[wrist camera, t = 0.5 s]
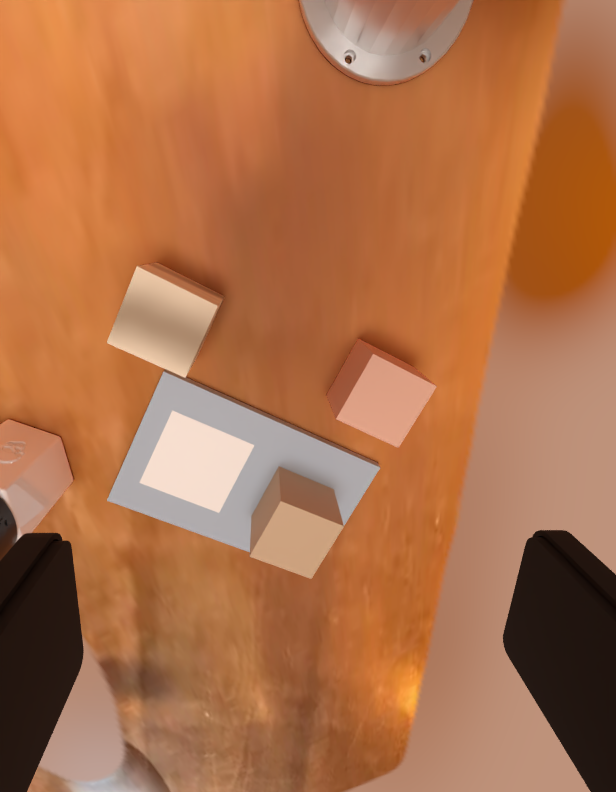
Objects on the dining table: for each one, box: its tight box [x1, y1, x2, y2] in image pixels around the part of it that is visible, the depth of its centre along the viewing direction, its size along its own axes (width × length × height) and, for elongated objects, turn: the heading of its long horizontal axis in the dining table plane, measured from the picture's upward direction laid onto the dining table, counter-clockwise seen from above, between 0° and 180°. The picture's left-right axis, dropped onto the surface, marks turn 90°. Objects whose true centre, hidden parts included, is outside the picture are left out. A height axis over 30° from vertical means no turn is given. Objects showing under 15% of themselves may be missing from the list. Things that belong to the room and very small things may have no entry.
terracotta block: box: [327, 338, 437, 448], centre depth 38 cm, size 6×6×6 cm
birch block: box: [107, 262, 225, 378], centre depth 35 cm, size 6×6×6 cm
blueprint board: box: [107, 369, 380, 579], centre depth 40 cm, size 14×22×7 cm, turn 62°
